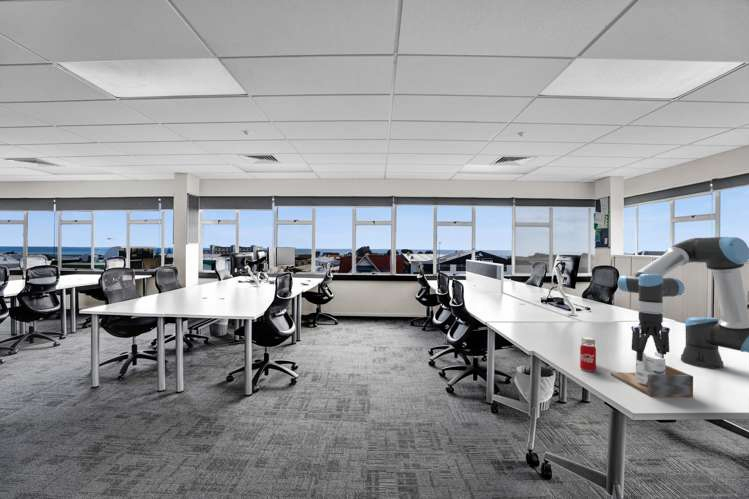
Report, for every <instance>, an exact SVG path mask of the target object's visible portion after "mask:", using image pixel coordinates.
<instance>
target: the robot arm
mask: <svg viewBox="0 0 749 499" xmlns="http://www.w3.org/2000/svg"><path fill="white" fill-rule="evenodd" d="M748 261H749V246H748V244H747V243H746V242H745V240H743V239H742V238H740V237H737V236H736V237H734V236H733V237H732V236H718V237H715V236H714V237H695V238H694V237H693V238H689V239H685V240H683V241H680V242H678V243H676V244H674V245H672V246H670V247H669V248H667V249H666V250H665V252H664V253H663V254H662V255H661V256H659V257H657V258H656V259H654V260H653V261H651V262H650V263H648V264H646V265H645V266H644V267H642V268H640V269H639V270H637V271H636V272H634V273H632V274H631V275H629V274H627V275H621V276H619V277H618V280H617V287H618V289H619V290H620V291H622V292H625V293H632V294H638V310H639V311H638V321H639V323H638V325H632V326H631V327H630V328H631V331H632V334H631V336H632V337H631V350H632V351H634V352H635V353H637V360H638V361H639V363H638V368H640V369H642V370H646V354H644V353H645V348H646V346H647V343H648V340H649V338H650V337H652V339H653V342H654V347H655V349H656V351H655V352H654V356H657V357H660V358H663V359H665V355H667V353H670V337H669V336H670V331H671V329H670V327H667V326H664V325H663V324H662V323H663V322H664V315H663V312H664V305H663V304H664V301H663V300H664V298H665V297H666V298H667V297H671V298H673V297H679V296H680V295H682V294H683V293H684V292H685V285H684V283H683V282H682V281H681V280H680V279H678V278H673V277H667V278H666V277H665V276H666V275H667V274H669V273H670V272H672V271H674V270H675V269H676V268H678V267H679V266H680V267H681V266H685V265H686V264H689V263H703V264H705V265H706V269H708V270H709V271H711V272H712V276H713V281H714V286H715V290H716V295H717V299H718V300H717V301H718V306H719V311H720V315H721V319H719V318H717V317H708V316H694V317H693V316H692V317H691V316H690V317H688V318H686V320H685V326H684V327H685V347H684V348H683V352H682V354H681V355H680V361H681V362H683V363H685V364H688V365H690V366H691V365H692V366H696V367H700V368H705V369H706V368H707V369H715V370H716V369H718V370H719V369H723V368H724V365H725V364H724V360H722V356H721V353H720V351H719V347H720V348H724V349H729V350H735V351H740V352H742V353H749V310H748V303H747V299H746V294H745V289H744V283H743V279H742V273H741V269H742V268H744V266H745V264H746V263H747V262H748Z"/></svg>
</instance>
